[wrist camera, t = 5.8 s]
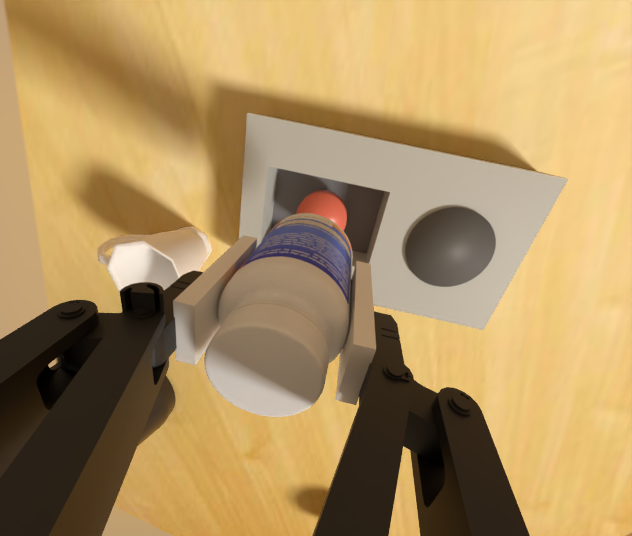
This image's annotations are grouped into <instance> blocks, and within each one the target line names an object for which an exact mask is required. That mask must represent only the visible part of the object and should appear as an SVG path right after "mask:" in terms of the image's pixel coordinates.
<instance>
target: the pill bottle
mask: <svg viewBox="0 0 632 536" xmlns="http://www.w3.org/2000/svg"><path fill="white" fill-rule="evenodd" d="M351 273H352V248H351V244H350V242H349V239H348V237H347V236H346V234H345V233H344V231H343V230H342V229H341V228H340V227H339V226H338V225H337V224H336V223H334V222H333V221H331V220H330V219H328V218H325V217H323V216H320V215H317V214H312V213H300V214H295V215H291V216H289V217H287V218H285V219H283V220H281V221H280V222H279V223H278V224H276V225H275V227H273V228H272V230H271V231H270V232H269V233H268V234H267V236H266V237H265V238H264V239H263V241H262V242H261V243H260V244H259V245H258V247H257V248H256V249H255V250H254V252H253V253H252V254H251V255H250V256H249V257H248V259H247V260H246V261H245V262H244V263H243V264H242V266H241V267H240V268H239V269H238V270H237V272H236V273H235V274H234V275H233V277H232V278H231V279H230V281H229V282H228V283H227V285H226V287H225V288H224V290H223V292H222V295H221V298H220V301H219V307H218V318H219V324H220V327H219V329H218V330H217V332H216V333H215V335H214V336H213V338H212V340H211V341H210V343H209V345H208V347H207V349H206V353H205V369H206V373H207V376H208V378H209V380H210V382H211V383H212V385H213V387H214V388H215V389H216V390H217V391H218V393H219V394H220V395H221V396H223V397H224V398H225V399H226V400H228V401H229V402H230V403H232V404H233V405H235V406H237V407H239V408H241V409H243V410H246V411H248V412H251V413H254V414H258V415H262V416H271V417H284V416H290V415H294V414H297V413H300V412H302V411H304V410H306V409H308V408H310V407H311V406H312V405H313V404H314V403H315V402H316V401H317V400H318V398H319V397H320V395H321V393H322V391H323V388H324V384H325V379H326V373H327V368H328V364H329V363H330V362H331V361H333V360H334V359H335V358H336V357H337V355H338V354H339V353H340V351H341V350H342V348H343V347H344V345H345V342H346V339H347V336H348V331H349V321H350V295H351Z"/></svg>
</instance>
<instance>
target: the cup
mask: <svg viewBox="0 0 632 536" xmlns="http://www.w3.org/2000/svg"><path fill="white" fill-rule="evenodd" d="M114 246H115V247H114ZM112 247H114V249H113V252H112V255H111V256H108V255H104V253H105V252H107V251H108V250H109V249H111V248H112ZM211 251H212V247H211V244H210V241H209V239H208V236H207V234H205V233H203V232H202V231H200V230H199V229H197V228H196V227H194V226H189V227H183V228H179V229H177V230H174V231H168V232H161V233H155V234H152V235H146V234H144V235H124V236H119V237H115V238H111V239H110V240H108V241H106V242H104V243H103V244H102V245H100V246H99V247H98V248H97V254H98V260H99V261H100V262H101V263H102V264H105V265H108V266H107V270H108V272H109V273H110V275H111V277H112V279H113V281H114V283H115V285H116V287H117V289H118V290H119V292H120V290H121V289H123V288H124V287H126V286H128V285H131V284H134V283H140V282H151V283H156V284H158V285H160V286H162V288H163V289H164V290H165V289H167V288H168V287H170V285H171V284H173V283H174V282H176V280H177V279H179V278H180V277H181V276H182V275H183V274H186V273H188V272H191V271H193V270H195V271H200V269H201V267H202V265H203V263H204V262H205V261H206V260H207V258H208V256H209V254H210V253H211Z"/></svg>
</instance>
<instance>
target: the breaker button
mask: <svg viewBox="0 0 632 536" xmlns="http://www.w3.org/2000/svg"><path fill="white" fill-rule="evenodd" d="M300 213H312V214H317V215H320V216H323V217H325V218H328V219H330V220H331V221H333V222H334V223H336V224H337V225H338V226H339V227H340V228H341V229H342V230H343V231H344V229H345V226H346V221H347V208H346V205H345V203H344V201H343V200H342V199H341V198H340V197H339V196H338V195H337V194H335V193H334V192H331V191H328V190H317V191H314V192H312V193H310V194H309V195H307V196H306V197H305V198H304V200H303V201H302V202H301V204H300V205H299V207H298V209H297V212H296V214H300Z"/></svg>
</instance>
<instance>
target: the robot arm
mask: <svg viewBox="0 0 632 536" xmlns="http://www.w3.org/2000/svg"><path fill="white" fill-rule="evenodd" d="M256 246H257V238H254V237H249V236H245V235H243V236H242V237H241V238H240V239H239V240H238V241H237V242H236V243H235V244H234V245H232V246H231V247H230V248H229V249H228V250H227V251H226V252H225V253H224V254H223V255H222V256H221V257H220V258H219V259H217V260H216V261H215V262H214V263H213V264H212V265H211V266H210V267H209V268H208V269H207V270H206V271H205V272H204V273H203V272H199V271H195V270H193V271H191V272H188V273H186V274H183V275H182V276H181V277H180V278H179V279H177V280H176V282H174V283H173V284H171V285H170V287H168V288H167V289H165V290H164V289H163V288H162V286H160V285H158V284H156V283H151V282H140V283H134V284H131V285H128V286H126V287H124V288H123V289H121V290H120V297H121V303H122V310H123V312H122V313H98V309H97V306H96V305H95V303H93V302H91V301H87V300H73V301H68V302H64V303H61V304H59V305H56V306H54V307H52V308H51V309H49V310H47V311H46V312H44V313H43V314H41V315H39V316H38V317H36V318H35V319H33V320H31V321H30V322H28V323H27V324H25V325H23V326H22V327H20V328H18V329H17V330H15V331H14V332H12V333H10V334H9V335H7V336H5V337H4V338H2V339H0V536H101V535H102V533H103V531H104V528H105V525H106V523H107V521H108V518H109V515H110V513H111V511H112V508H113V506H114V503H115V501H116V498H117V495H118V493H119V490H120V488H121V485H122V483H123V480H124V478H125V475H126V473H127V470H128V468H129V465H130V463H131V460H132V458H133V455H134V453H135V450H136V448H137V446H138V445H139V444H141V443H142V442H143V441H144V440H145V439H147V438H148V437H149V436H150V435H151V434H152V433H153V432H155V431H156V430H157V429H158V428H159V427H160V426H162V424H163V423H164V422H165V421H166V419H167V418H168V416H169V415H170V413H171V412H172V410H173V408H174V406H175V393H174V390H173V388H172V386H171V384H170V382H169V381H168V379H167V378H166V376H165V375H166V373H167V370H168V367H169V357H170V355H171V354H172V353H173V352H174V351H175V349H176V360H177V361H181V362H185V363H189V364H193V365H196V364H197V362H198V361H199V359H200V358H201V356H202V355H203V353H204V352H205V351H206V349H207V347H208V345H209V343H210V341H211V340H212V338H213V336H214V335H215V333H216V332H217V330H218V329H219V327H220V324H219V318H218V307H219V301H220V298H221V295H222V292H223V290H224V288H225V287H226V285H227V283H228V282H229V281H230V279H231V278H232V277H233V275H234V274H235V273H236V272H237V270H238V269H239V268H240V267H241V266H242V264H243V263H244V262H245V261H246V260H247V259H248V257H249V256H250V255H251V254H252V253H253V252H254V250H255V249H256ZM399 339H400V338H399V333H398V327H397V323H396V322H395V320H394V319H393V317H392V316H391V315H387V314H382V313H378V312H374V307H373V292H372V277H371V264H369V263H364V262H360V261H356V264H355V268H354V272H353V275H352V279H351V295H350V321H349V331H348V336H347V339H346V342H345V345H344V347H343V348H342V350H341V351H340V360H339V371H338V381H337V392H336V400H338V401H342V402H346V403H350V404H354V405H356V403H357V401H358V398H359V408H358V410H357V413H356V416H355V418H354V421H353V424H352V426H351V430H350V433H349V435H348V438H347V441H346V444H345V447H344V449H343V452H342V455H341V458H340V461H339V463H338V466H337V469H336V472H335V474H334V477H333V480H332V483H331V486H330V488H329V491H328V494H327V497H326V500H325V502H324V505H323V508H322V511H321V514H320V516H319V519H318V522H317V525H316V527H315V530H314V533H313V536H388V534H389V528H390V522H391V516H392V510H393V504H394V498H395V492H396V486H397V480H398V474H399V468H400V462H401V455H402V449H403V446H404V447H406V448H408V449H409V450H410V451H411V459H412V468H413V476H414V485H415V493H416V502H417V510H418V519H419V527H420V536H530V535H529V533H528V530H527V528H526V525H525V522H524V520H523V517H522V515H521V512H520V509H519V507H518V504H517V502H516V499H515V496H514V494H513V491H512V489H511V486H510V484H509V481H508V478H507V476H506V473H505V471H504V468H503V465H502V463H501V460H500V458H499V455H498V452H497V450H496V447H495V445H494V442H493V439H492V437H491V434H490V432H489V429H488V426H487V424H486V421H485V419H484V416H483V413H482V411H481V409H480V407H479V406H478V404H477V403H476V402H475V401H474V400H473V399H472V398H471V397H470V396H469V395H467V394H466V393H464V392H463V391H460V390H458V389H455V388H449V387H446V388H443V389H441V390H440V392H439V393H436V392H434V391H432V390H430V389H428V388H426V387H424V386H422V385H420V384H419V383H417V382H416V381H415V380H414V379H413V375H412V373H411V371H410V369H409V368H408V367H406V366H405V365H404V360H403V355H402V349H401V343H400V340H399ZM56 358H58V361H59V362H58V363H57V364H56V365H54V366H53V367H51V368H49V367H48V364H49V363H50V362H52V361H53V360H54V359H56Z"/></svg>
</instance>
